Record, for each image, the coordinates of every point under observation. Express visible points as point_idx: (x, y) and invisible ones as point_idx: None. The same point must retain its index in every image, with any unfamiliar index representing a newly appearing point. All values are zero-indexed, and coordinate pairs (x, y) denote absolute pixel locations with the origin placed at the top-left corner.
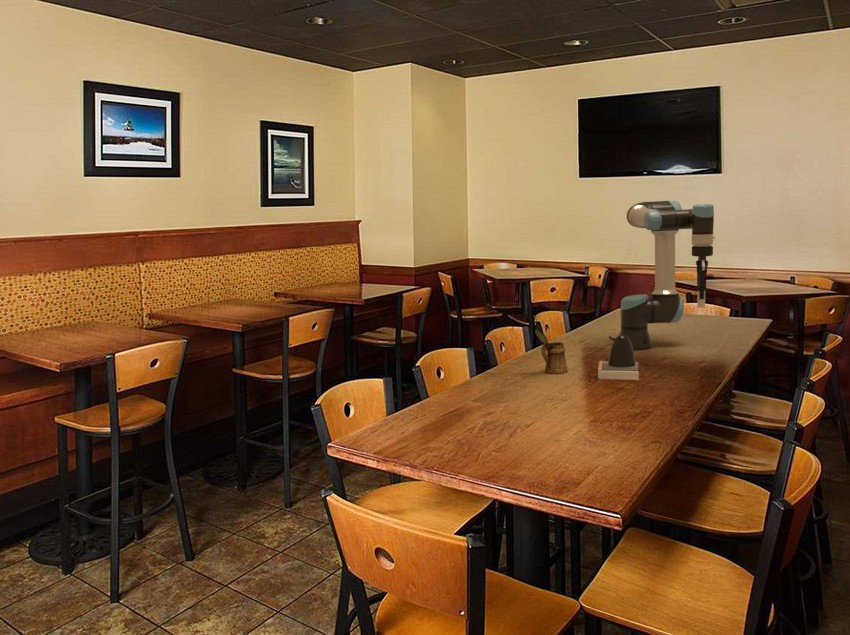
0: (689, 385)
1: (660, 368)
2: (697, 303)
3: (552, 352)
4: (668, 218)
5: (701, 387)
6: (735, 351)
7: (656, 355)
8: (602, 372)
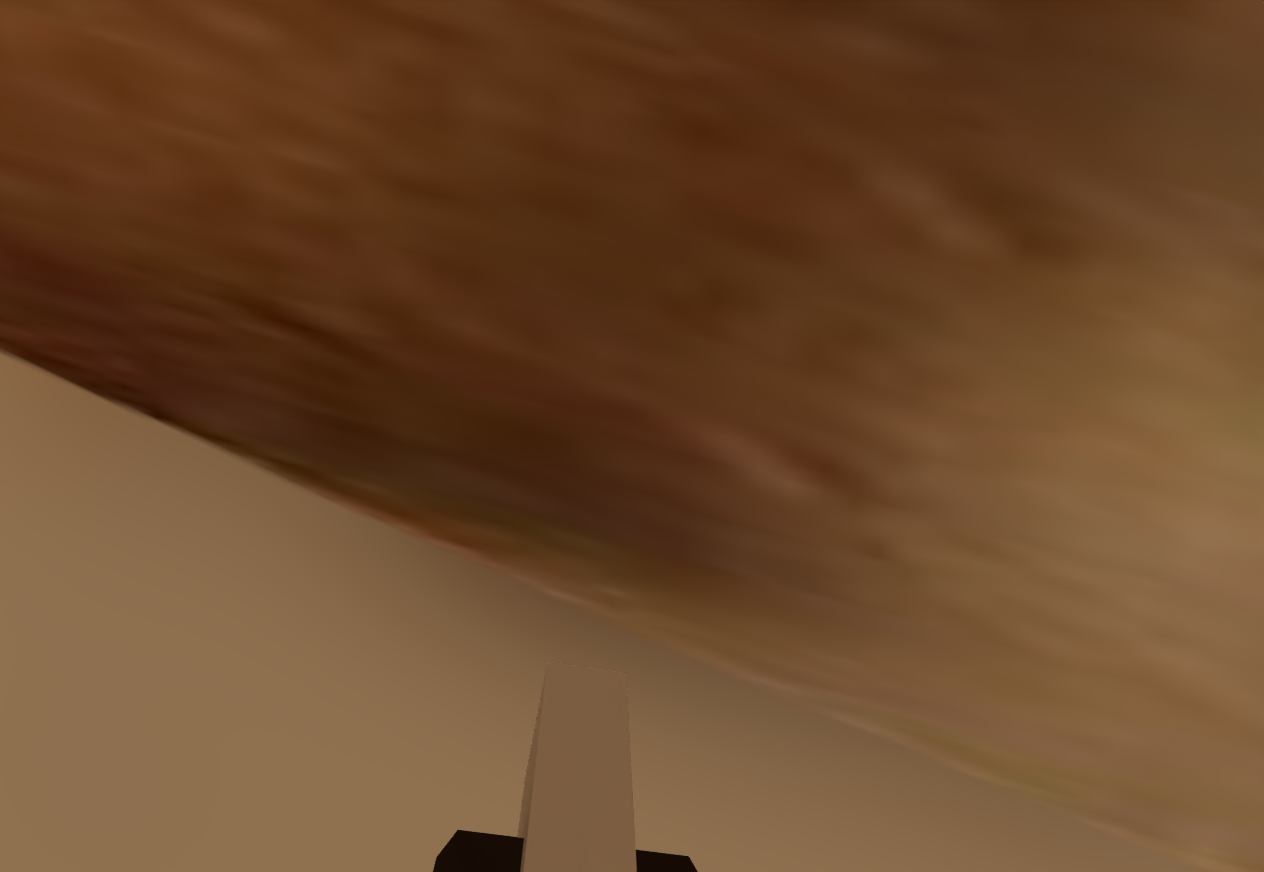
0: (61, 173)
1: (662, 90)
2: (566, 719)
3: None
4: None
5: (9, 248)
6: (1107, 772)
7: (1161, 190)
8: None
